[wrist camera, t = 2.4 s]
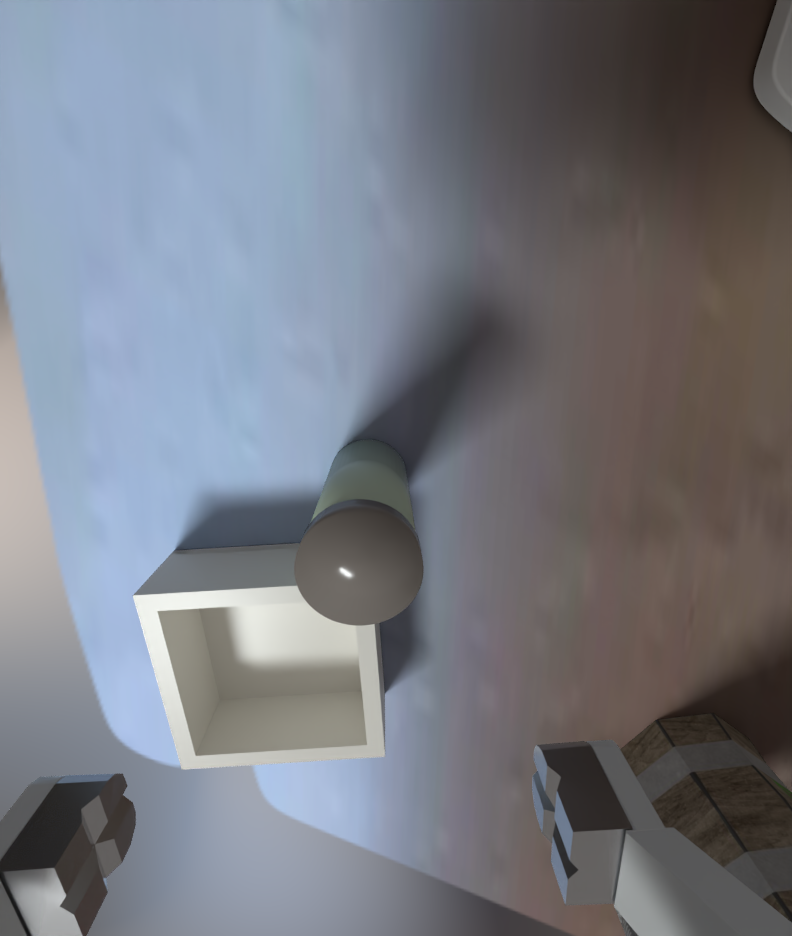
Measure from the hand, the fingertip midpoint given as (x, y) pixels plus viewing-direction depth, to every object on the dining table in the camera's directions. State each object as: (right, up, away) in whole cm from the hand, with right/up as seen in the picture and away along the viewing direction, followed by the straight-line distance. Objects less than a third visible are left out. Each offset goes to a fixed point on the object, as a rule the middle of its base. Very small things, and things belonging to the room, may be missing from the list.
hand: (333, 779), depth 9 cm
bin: (-6, -4, +20) cm, 21 cm away
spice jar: (0, +6, +17) cm, 18 cm away
